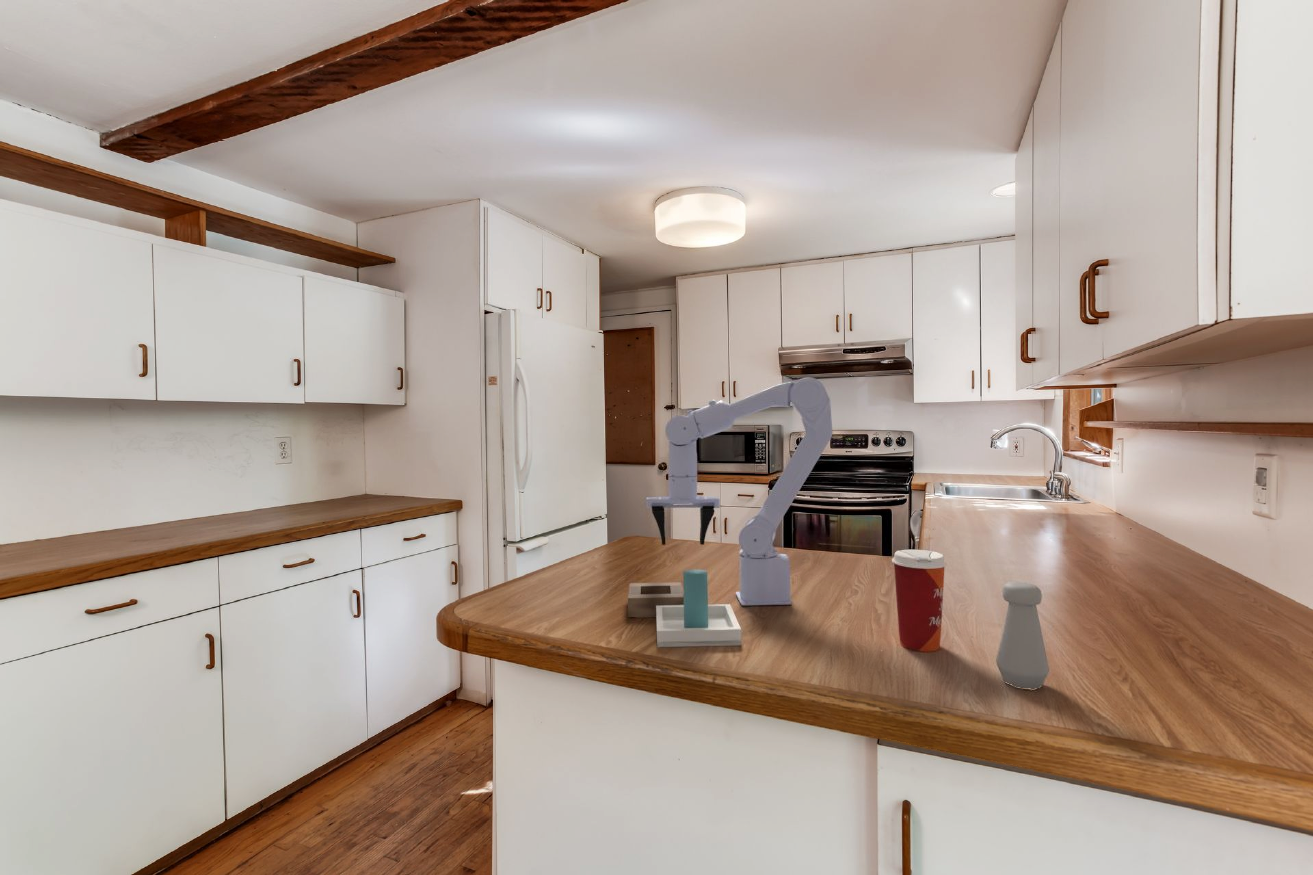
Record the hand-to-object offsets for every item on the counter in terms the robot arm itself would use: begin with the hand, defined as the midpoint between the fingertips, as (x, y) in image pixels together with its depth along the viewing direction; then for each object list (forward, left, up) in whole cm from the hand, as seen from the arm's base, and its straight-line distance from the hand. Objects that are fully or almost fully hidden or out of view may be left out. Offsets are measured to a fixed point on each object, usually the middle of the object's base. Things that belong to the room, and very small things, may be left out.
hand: (682, 543), depth 120 cm
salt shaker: (-41, +43, -11) cm, 61 cm away
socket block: (+6, +8, -10) cm, 14 cm away
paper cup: (-34, +29, -11) cm, 46 cm away
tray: (-1, +21, -10) cm, 24 cm away
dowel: (-1, +21, -10) cm, 23 cm away
